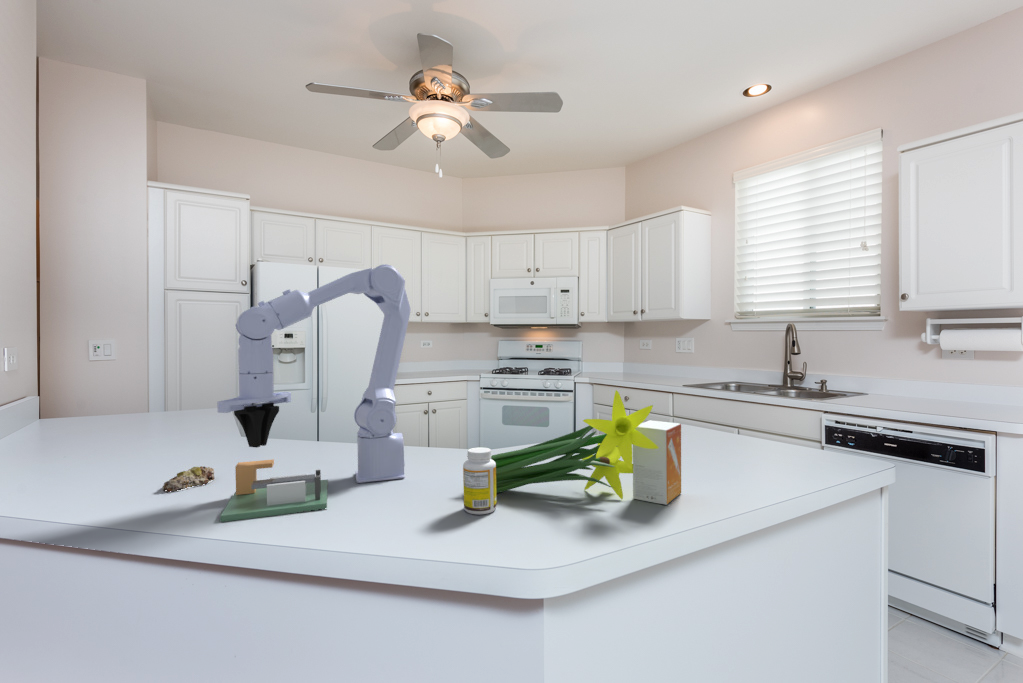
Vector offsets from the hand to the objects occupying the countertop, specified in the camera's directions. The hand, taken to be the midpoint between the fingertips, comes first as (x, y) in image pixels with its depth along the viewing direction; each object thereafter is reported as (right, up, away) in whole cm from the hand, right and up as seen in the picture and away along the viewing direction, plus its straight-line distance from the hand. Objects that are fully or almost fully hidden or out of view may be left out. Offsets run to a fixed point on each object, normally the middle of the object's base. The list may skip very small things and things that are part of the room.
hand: (257, 446), depth 92 cm
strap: (+8, -6, -5) cm, 11 cm away
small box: (+74, -9, -2) cm, 74 cm away
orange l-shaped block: (0, -8, 0) cm, 8 cm away
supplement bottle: (+42, -9, -8) cm, 44 cm away
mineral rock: (-18, -10, +8) cm, 22 cm away
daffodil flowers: (+56, -9, -2) cm, 56 cm away
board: (+5, -9, -3) cm, 11 cm away
